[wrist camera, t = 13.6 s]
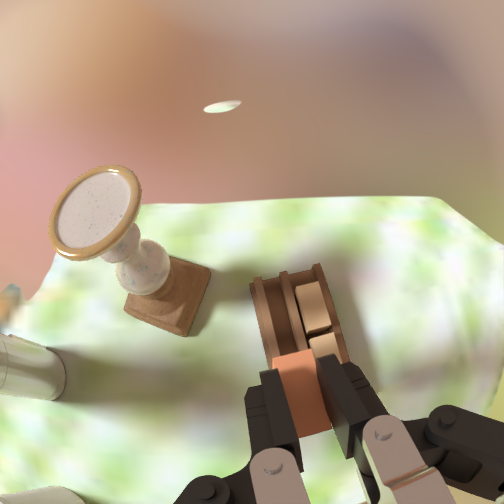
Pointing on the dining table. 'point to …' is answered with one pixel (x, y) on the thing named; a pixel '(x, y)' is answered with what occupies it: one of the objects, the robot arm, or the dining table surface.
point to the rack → (290, 313)
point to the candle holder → (126, 248)
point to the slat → (303, 392)
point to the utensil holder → (42, 496)
